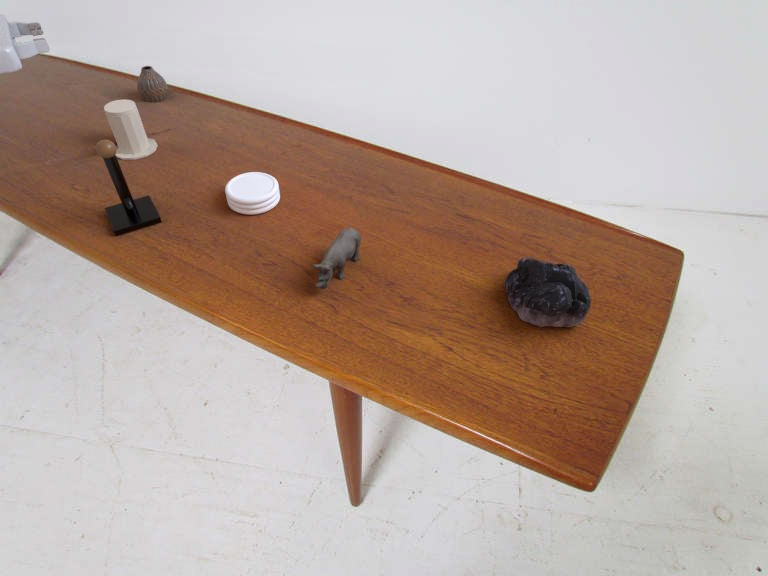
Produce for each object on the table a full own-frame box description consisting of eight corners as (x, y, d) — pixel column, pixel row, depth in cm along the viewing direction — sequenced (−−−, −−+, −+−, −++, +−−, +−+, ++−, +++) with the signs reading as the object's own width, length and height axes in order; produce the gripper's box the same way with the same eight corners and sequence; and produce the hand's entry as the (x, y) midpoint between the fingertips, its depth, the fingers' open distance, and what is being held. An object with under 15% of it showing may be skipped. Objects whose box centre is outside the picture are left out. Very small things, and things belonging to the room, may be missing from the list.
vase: (163, 94, 128) (153, 59, 122) (177, 103, 124) (167, 68, 118) (138, 102, 124) (126, 67, 118) (150, 112, 121) (139, 76, 115)
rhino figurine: (304, 294, 79) (300, 267, 75) (345, 245, 88) (344, 217, 84) (326, 303, 78) (324, 275, 73) (366, 252, 87) (366, 224, 82)
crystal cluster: (527, 265, 86) (535, 219, 79) (605, 297, 80) (620, 250, 73) (487, 312, 80) (491, 267, 73) (567, 351, 73) (580, 306, 66)
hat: (118, 164, 104) (100, 119, 97) (109, 145, 110) (91, 102, 103) (161, 153, 108) (147, 109, 101) (151, 135, 113) (137, 92, 106)
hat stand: (116, 236, 88) (80, 158, 77) (106, 212, 92) (71, 136, 81) (162, 222, 91) (134, 145, 80) (150, 200, 96) (123, 124, 85)
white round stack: (268, 219, 92) (266, 204, 90) (219, 211, 94) (214, 195, 91) (287, 190, 99) (286, 174, 97) (241, 182, 101) (238, 167, 98)
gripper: (-66, 48, 71) (43, 34, 77) (-63, 10, 83) (30, 0, 89) (-41, 92, 76) (60, 75, 81) (-42, 49, 88) (46, 38, 93)
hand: (44, 36), depth 85 cm, fingers open, 8 cm apart
